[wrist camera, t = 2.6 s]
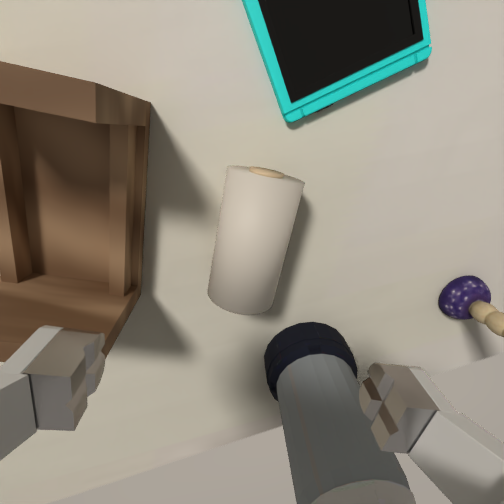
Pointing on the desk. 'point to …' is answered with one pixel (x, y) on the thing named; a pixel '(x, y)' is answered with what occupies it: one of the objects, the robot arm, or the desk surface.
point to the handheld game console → (335, 46)
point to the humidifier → (328, 422)
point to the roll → (252, 238)
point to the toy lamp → (471, 303)
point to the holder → (69, 204)
